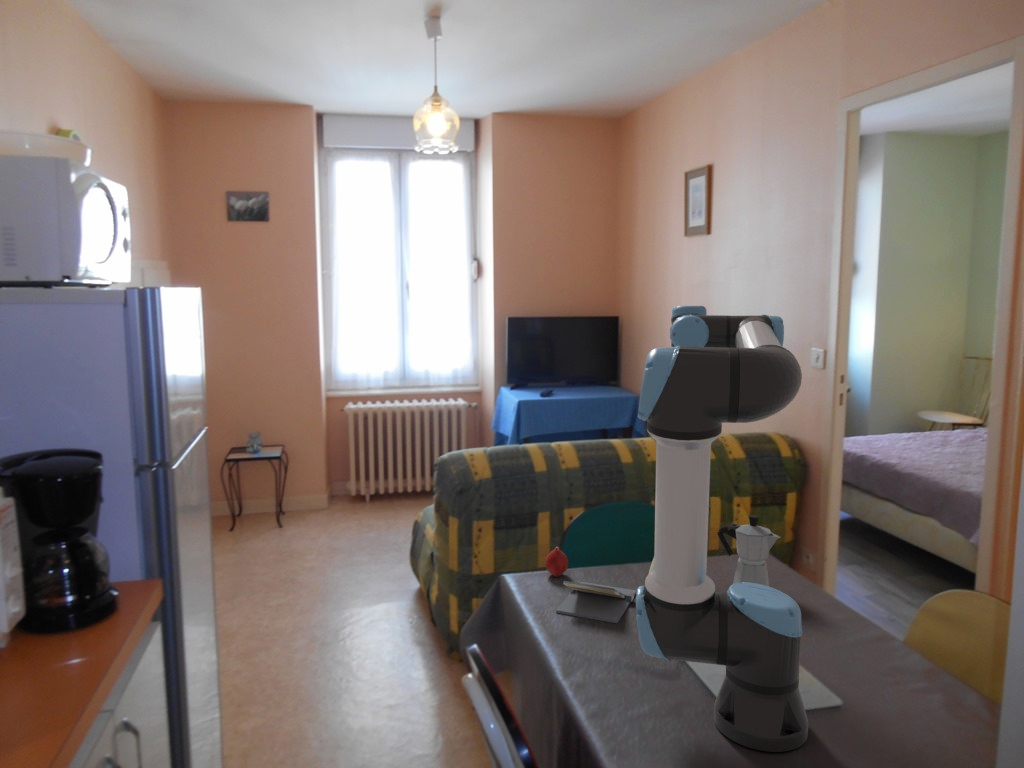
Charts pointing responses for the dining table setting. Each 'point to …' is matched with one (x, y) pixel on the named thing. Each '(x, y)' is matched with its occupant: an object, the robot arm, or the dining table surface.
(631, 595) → the hinge blocks
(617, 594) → the flap
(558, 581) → the dining table surface
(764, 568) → the coffee maker
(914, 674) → the dining table surface
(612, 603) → the base plate
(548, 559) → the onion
